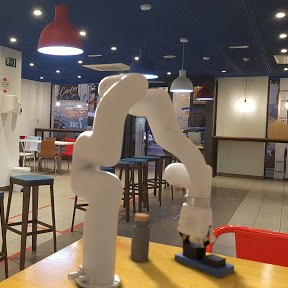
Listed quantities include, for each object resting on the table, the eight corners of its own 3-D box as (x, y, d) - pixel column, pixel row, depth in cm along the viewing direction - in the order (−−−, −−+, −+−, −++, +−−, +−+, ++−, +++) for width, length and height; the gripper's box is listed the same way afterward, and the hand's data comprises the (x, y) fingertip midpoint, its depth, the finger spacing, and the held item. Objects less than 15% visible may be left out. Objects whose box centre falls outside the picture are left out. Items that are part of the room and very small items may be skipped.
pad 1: (195, 260, 122) (196, 248, 122) (182, 255, 126) (183, 243, 126) (204, 257, 125) (205, 246, 125) (191, 253, 129) (192, 241, 129)
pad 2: (216, 274, 116) (217, 261, 116) (201, 268, 120) (202, 256, 120) (225, 270, 119) (226, 258, 119) (210, 265, 123) (211, 253, 123)
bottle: (147, 256, 129) (149, 213, 128) (149, 262, 123) (151, 217, 122) (129, 254, 130) (132, 212, 128) (131, 261, 124) (133, 216, 123)
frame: (218, 277, 114) (219, 271, 114) (174, 260, 127) (174, 254, 126) (234, 271, 119) (234, 265, 119) (190, 255, 132) (190, 249, 132)
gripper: (169, 197, 129) (165, 249, 130) (215, 208, 115) (210, 266, 116) (182, 195, 133) (179, 245, 134) (228, 206, 119) (223, 261, 121)
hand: (193, 254), depth 125 cm, fingers closed on pad 1, 5 cm apart
